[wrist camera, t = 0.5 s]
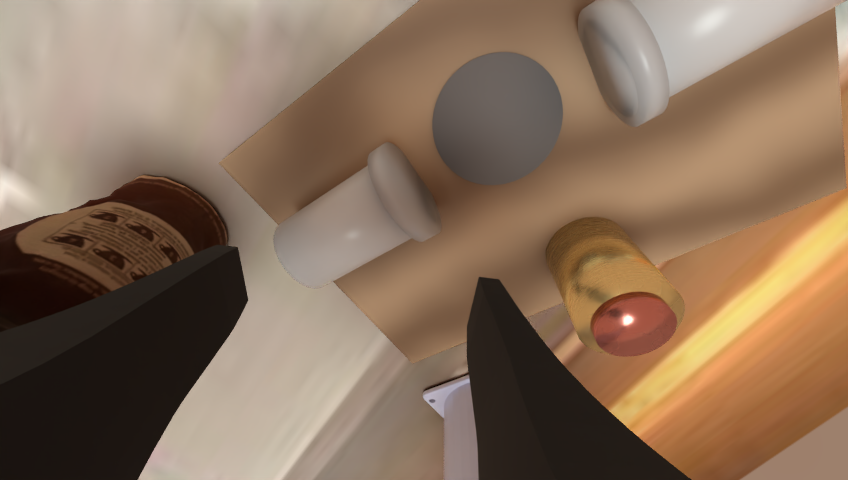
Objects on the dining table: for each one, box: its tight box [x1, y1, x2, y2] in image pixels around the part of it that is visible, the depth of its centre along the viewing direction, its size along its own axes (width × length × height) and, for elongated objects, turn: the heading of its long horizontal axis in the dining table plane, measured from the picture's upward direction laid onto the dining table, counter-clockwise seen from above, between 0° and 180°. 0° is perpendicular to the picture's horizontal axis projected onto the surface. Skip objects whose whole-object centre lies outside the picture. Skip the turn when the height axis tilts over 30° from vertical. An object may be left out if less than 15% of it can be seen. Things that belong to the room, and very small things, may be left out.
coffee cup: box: [0, 175, 227, 332], centre depth 16 cm, size 9×8×13 cm
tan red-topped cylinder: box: [545, 217, 685, 356], centre depth 17 cm, size 4×4×6 cm
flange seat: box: [432, 52, 563, 185], centre depth 16 cm, size 6×6×1 cm
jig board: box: [219, 0, 847, 363], centre depth 18 cm, size 18×26×1 cm
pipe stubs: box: [274, 0, 846, 288], centre depth 15 cm, size 5×23×5 cm, turn 123°
